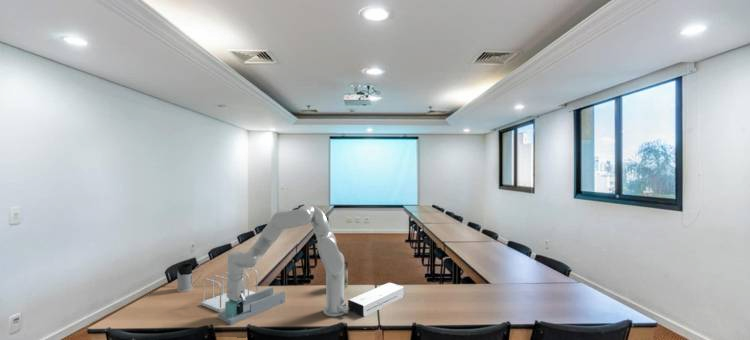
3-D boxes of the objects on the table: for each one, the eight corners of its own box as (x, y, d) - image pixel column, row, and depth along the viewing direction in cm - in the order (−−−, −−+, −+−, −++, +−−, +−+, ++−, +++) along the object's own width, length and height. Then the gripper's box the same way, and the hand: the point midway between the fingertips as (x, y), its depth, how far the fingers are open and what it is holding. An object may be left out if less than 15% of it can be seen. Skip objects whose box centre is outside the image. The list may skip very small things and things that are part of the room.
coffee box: (338, 291, 198) (338, 265, 198) (330, 289, 202) (330, 263, 202) (348, 287, 206) (348, 261, 205) (340, 284, 210) (340, 259, 209)
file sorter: (219, 313, 171) (219, 283, 171) (200, 305, 180) (200, 277, 180) (259, 296, 192) (259, 270, 192) (240, 290, 201) (240, 265, 201)
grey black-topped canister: (177, 288, 205) (176, 264, 204) (203, 284, 211) (202, 261, 211) (176, 293, 197) (176, 268, 197) (203, 289, 204) (202, 265, 203)
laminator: (363, 317, 166) (363, 305, 165) (346, 310, 174) (346, 299, 174) (404, 297, 191) (403, 286, 191) (387, 291, 199) (387, 281, 199)
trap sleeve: (285, 302, 184) (284, 291, 184) (231, 325, 158) (230, 312, 158) (271, 296, 191) (271, 286, 191) (218, 318, 165) (217, 306, 165)
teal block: (243, 312, 167) (242, 301, 166) (232, 317, 162) (231, 305, 162) (236, 309, 170) (236, 298, 170) (225, 313, 165) (225, 302, 165)
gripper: (219, 274, 169) (220, 309, 169) (238, 282, 158) (238, 319, 159) (233, 271, 175) (233, 304, 175) (252, 277, 164) (252, 313, 165)
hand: (236, 311), depth 167 cm, fingers closed on teal block, 6 cm apart
